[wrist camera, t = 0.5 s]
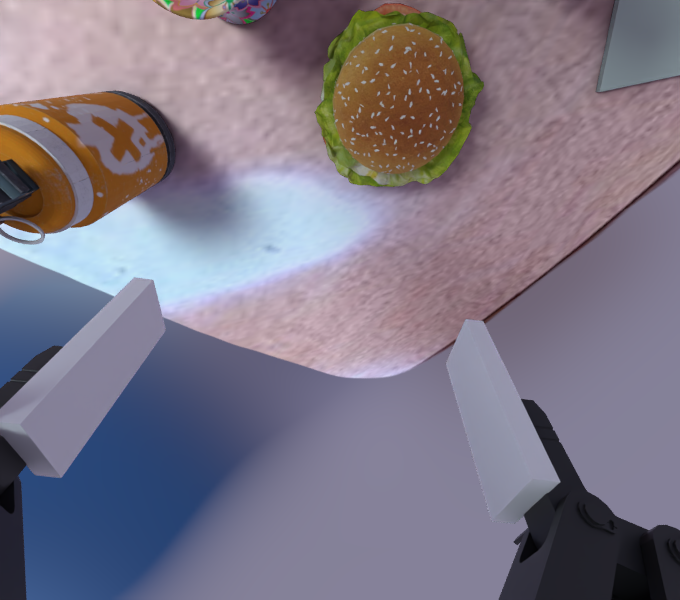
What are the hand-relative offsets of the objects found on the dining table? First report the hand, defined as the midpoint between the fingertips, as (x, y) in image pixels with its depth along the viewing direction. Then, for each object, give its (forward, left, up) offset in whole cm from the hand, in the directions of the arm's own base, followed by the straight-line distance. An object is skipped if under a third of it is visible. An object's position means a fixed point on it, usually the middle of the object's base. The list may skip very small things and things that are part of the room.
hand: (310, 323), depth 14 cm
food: (-4, +6, -27) cm, 28 cm away
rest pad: (-6, +30, -27) cm, 40 cm away
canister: (-6, -22, -27) cm, 35 cm away
